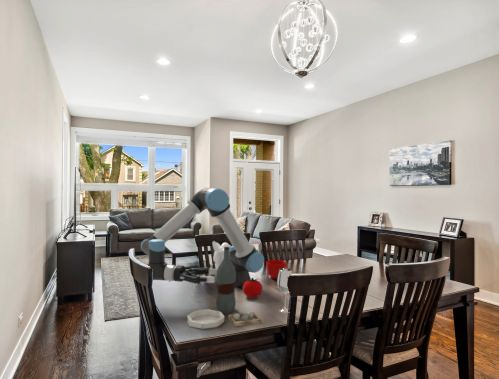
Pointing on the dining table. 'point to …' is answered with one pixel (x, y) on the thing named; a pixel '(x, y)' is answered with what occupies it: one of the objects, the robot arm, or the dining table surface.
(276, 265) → the ceramic cup
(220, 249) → the cherub figurine
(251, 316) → the pebble
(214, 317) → the bowl
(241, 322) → the parts tray
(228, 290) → the vodka
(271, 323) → the dining table surface
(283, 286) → the wineglass
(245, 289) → the tomato
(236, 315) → the pebble
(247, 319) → the pebble
